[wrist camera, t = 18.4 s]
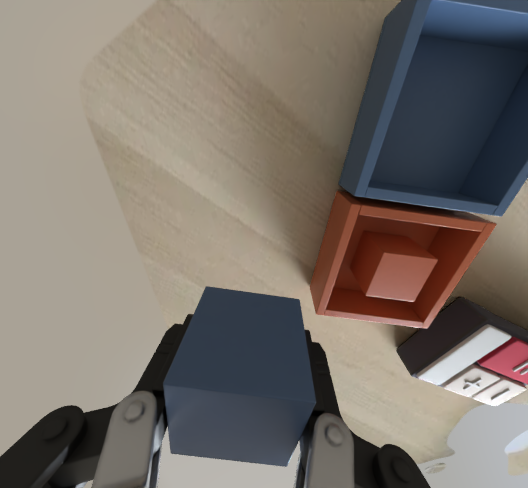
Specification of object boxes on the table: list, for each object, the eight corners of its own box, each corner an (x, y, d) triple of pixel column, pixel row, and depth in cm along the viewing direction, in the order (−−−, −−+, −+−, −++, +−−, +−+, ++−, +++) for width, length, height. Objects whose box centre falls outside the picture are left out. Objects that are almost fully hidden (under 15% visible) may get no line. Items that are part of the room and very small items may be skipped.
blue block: (204, 349, 12) (170, 454, 8) (205, 285, 10) (162, 383, 6) (282, 359, 13) (287, 467, 8) (299, 298, 11) (317, 403, 6)
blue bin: (338, 184, 20) (353, 195, 16) (384, 17, 15) (424, -26, 11) (457, 201, 21) (502, 216, 17) (544, 42, 15) (639, 9, 11)
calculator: (495, 411, 29) (413, 382, 26) (469, 378, 33) (394, 350, 30) (582, 366, 25) (494, 325, 21) (539, 335, 28) (460, 295, 25)
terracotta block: (349, 268, 24) (365, 295, 20) (363, 230, 22) (384, 252, 18) (390, 273, 24) (414, 302, 20) (407, 236, 22) (438, 259, 18)
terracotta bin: (309, 286, 26) (315, 314, 22) (336, 190, 21) (351, 203, 17) (404, 299, 26) (427, 329, 22) (454, 207, 21) (497, 224, 17)
